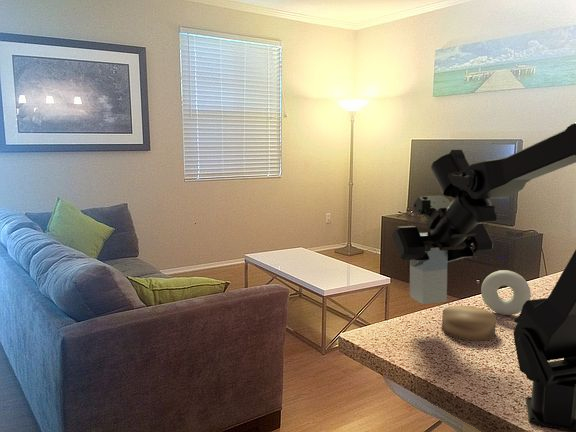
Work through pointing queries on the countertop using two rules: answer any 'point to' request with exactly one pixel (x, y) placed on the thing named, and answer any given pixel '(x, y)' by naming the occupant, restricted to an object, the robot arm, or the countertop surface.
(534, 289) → the countertop surface
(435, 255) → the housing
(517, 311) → the donut
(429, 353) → the countertop surface
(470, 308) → the pedestal
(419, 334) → the countertop surface
